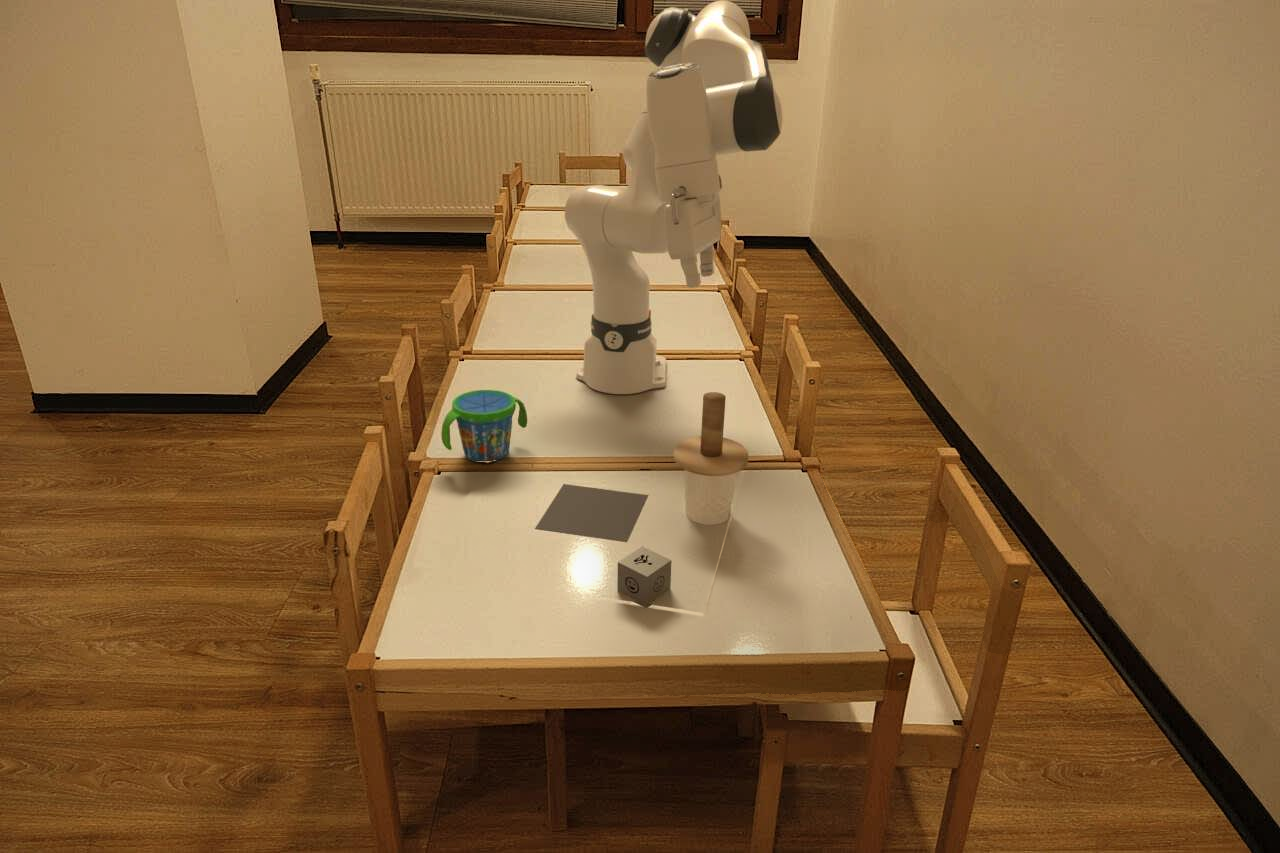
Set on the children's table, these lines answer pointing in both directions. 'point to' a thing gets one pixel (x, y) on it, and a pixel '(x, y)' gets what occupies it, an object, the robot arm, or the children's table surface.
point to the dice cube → (644, 576)
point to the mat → (593, 512)
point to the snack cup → (483, 423)
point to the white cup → (708, 497)
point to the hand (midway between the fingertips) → (701, 281)
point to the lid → (711, 444)
